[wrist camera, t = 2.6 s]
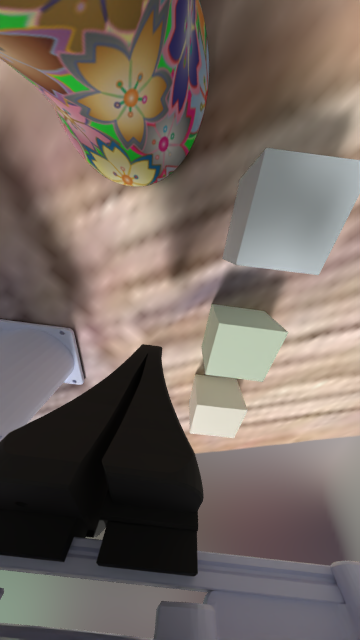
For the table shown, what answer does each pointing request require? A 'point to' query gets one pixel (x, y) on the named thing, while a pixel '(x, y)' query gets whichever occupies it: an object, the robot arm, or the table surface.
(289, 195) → the block bluegrey
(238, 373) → the block sage
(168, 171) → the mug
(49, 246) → the table surface
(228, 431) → the block cream
